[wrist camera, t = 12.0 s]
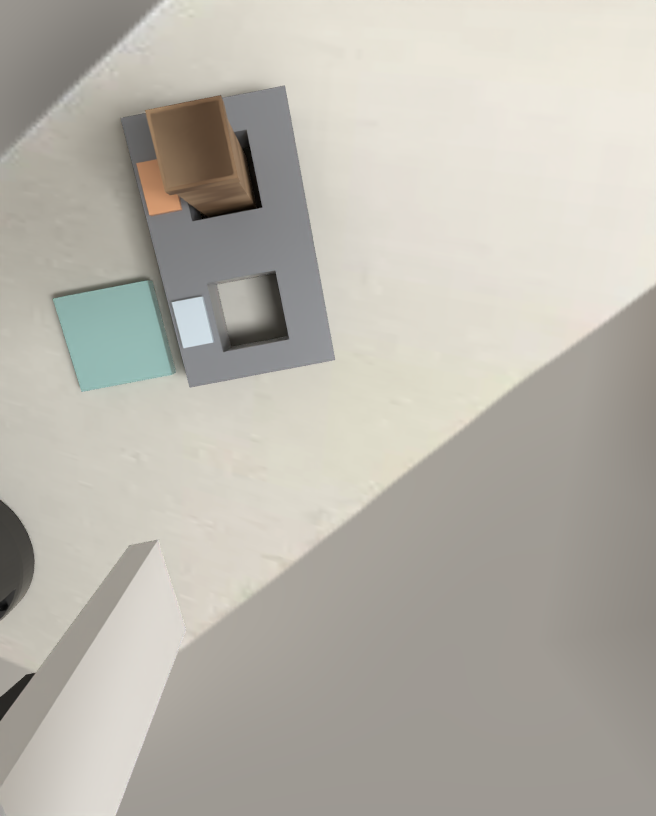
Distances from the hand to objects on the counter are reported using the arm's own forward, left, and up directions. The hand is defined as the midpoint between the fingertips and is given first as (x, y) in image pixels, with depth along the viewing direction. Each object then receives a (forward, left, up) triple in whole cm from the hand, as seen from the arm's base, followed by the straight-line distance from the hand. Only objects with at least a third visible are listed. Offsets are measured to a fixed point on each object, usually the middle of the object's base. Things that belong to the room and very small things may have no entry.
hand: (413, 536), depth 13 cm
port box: (-7, +11, -32) cm, 34 cm away
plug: (-7, +16, -32) cm, 36 cm away
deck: (-19, +6, -32) cm, 37 cm away
